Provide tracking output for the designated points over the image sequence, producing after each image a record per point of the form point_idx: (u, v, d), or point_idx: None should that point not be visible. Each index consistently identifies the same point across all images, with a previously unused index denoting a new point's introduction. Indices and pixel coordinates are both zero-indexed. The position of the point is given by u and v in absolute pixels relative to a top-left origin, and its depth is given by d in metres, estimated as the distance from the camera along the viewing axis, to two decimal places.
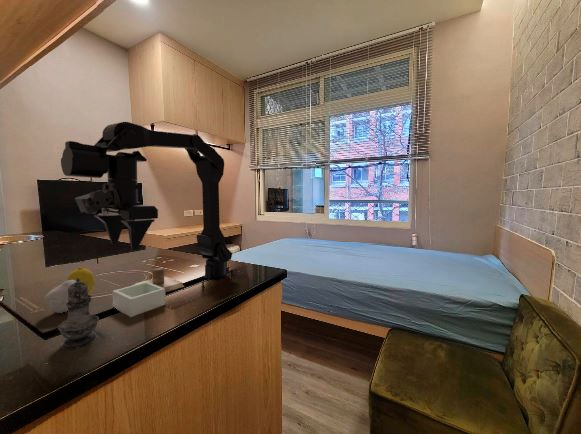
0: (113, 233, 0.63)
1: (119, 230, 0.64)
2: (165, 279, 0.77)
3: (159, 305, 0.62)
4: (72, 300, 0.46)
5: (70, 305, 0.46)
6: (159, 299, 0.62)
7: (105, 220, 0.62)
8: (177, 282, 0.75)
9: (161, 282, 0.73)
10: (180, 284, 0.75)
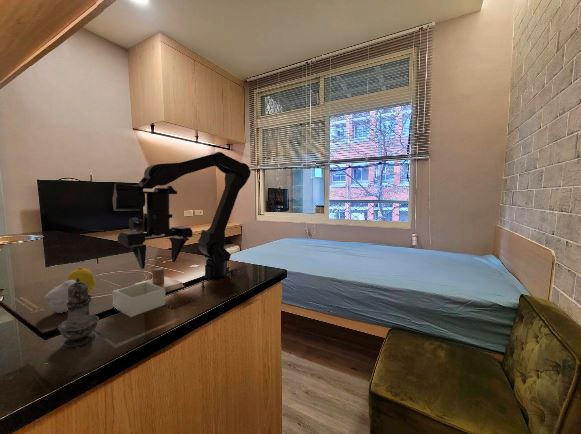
0: (173, 252, 0.78)
1: (176, 251, 0.77)
2: (165, 279, 0.77)
3: (159, 305, 0.62)
4: (72, 300, 0.46)
5: (70, 305, 0.46)
6: (159, 299, 0.62)
7: (171, 241, 0.78)
8: (177, 282, 0.75)
9: (161, 282, 0.73)
10: (180, 284, 0.75)
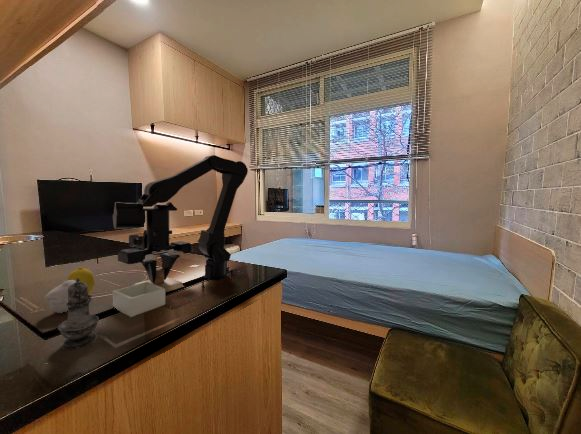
0: None
1: (166, 269, 0.75)
2: (165, 279, 0.77)
3: (159, 305, 0.62)
4: (72, 300, 0.46)
5: (70, 305, 0.46)
6: (159, 299, 0.62)
7: (161, 258, 0.76)
8: (177, 282, 0.75)
9: (161, 282, 0.73)
10: (180, 284, 0.75)
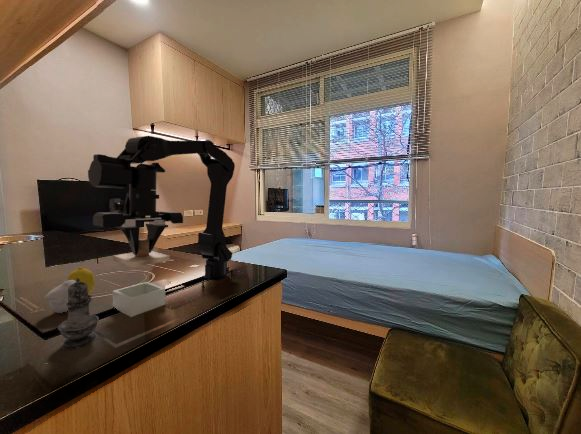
0: (149, 241, 0.65)
1: (152, 240, 0.64)
2: (151, 253, 0.67)
3: (159, 305, 0.62)
4: (72, 300, 0.46)
5: (70, 305, 0.46)
6: (159, 299, 0.62)
7: (147, 228, 0.66)
8: (164, 255, 0.65)
9: (145, 254, 0.63)
10: (167, 258, 0.65)
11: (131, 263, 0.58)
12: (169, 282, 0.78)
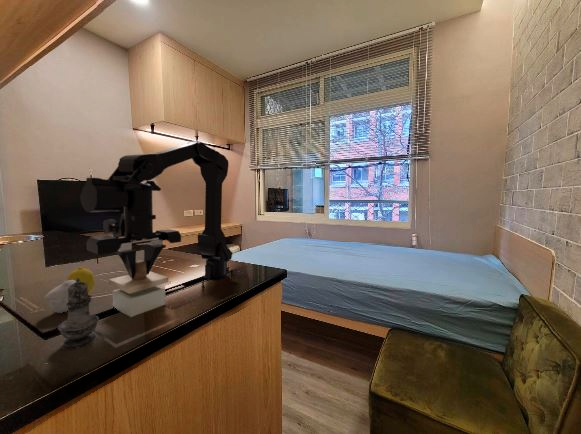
0: (146, 263, 0.63)
1: (149, 261, 0.62)
2: (148, 274, 0.65)
3: (159, 305, 0.62)
4: (72, 300, 0.46)
5: (70, 305, 0.46)
6: (159, 299, 0.62)
7: (144, 249, 0.63)
8: (162, 277, 0.63)
9: (142, 277, 0.61)
10: (166, 280, 0.62)
11: (128, 289, 0.56)
12: (169, 282, 0.78)
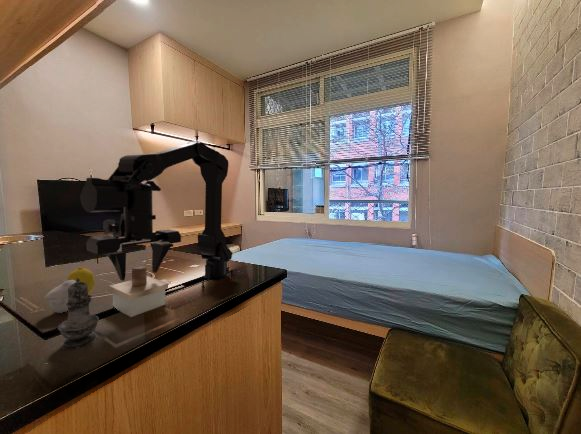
0: (154, 261, 0.64)
1: (157, 260, 0.64)
2: (148, 280, 0.65)
3: (159, 305, 0.62)
4: (72, 300, 0.46)
5: (70, 305, 0.46)
6: (159, 299, 0.62)
7: (152, 247, 0.65)
8: (162, 283, 0.63)
9: (142, 283, 0.61)
10: (166, 286, 0.63)
11: (128, 296, 0.56)
12: (169, 282, 0.78)
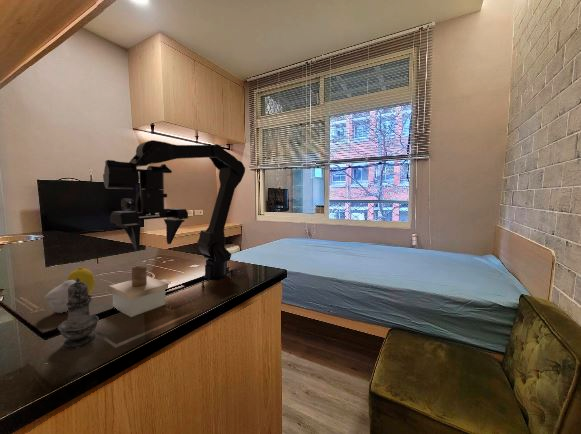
0: (168, 234, 0.75)
1: (171, 233, 0.74)
2: (148, 280, 0.65)
3: (159, 305, 0.62)
4: (72, 300, 0.46)
5: (70, 305, 0.46)
6: (159, 299, 0.62)
7: (166, 223, 0.76)
8: (162, 283, 0.63)
9: (142, 283, 0.61)
10: (166, 286, 0.63)
11: (128, 296, 0.56)
12: (169, 282, 0.78)
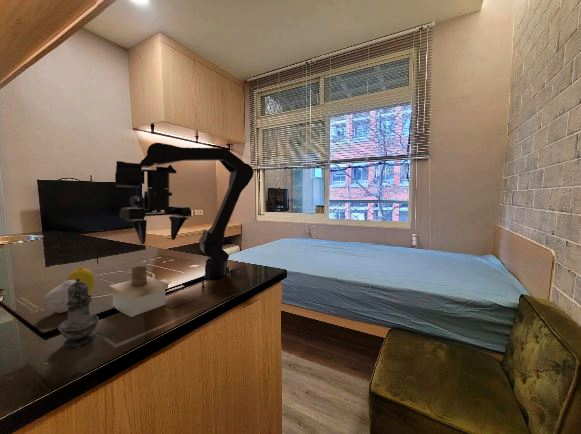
0: (173, 231, 0.80)
1: (175, 229, 0.79)
2: (148, 280, 0.65)
3: (159, 305, 0.62)
4: (72, 300, 0.46)
5: (70, 305, 0.46)
6: (159, 299, 0.62)
7: (171, 220, 0.81)
8: (162, 283, 0.63)
9: (142, 283, 0.61)
10: (166, 286, 0.63)
11: (128, 296, 0.56)
12: (169, 282, 0.78)
